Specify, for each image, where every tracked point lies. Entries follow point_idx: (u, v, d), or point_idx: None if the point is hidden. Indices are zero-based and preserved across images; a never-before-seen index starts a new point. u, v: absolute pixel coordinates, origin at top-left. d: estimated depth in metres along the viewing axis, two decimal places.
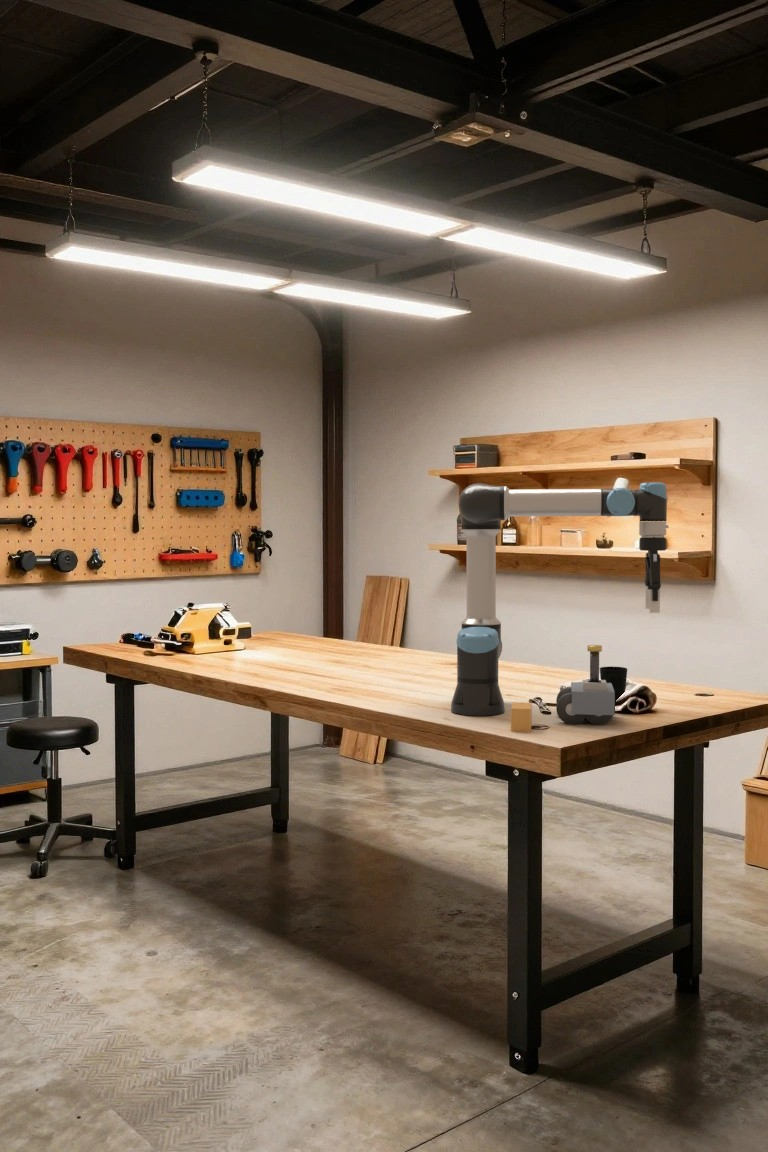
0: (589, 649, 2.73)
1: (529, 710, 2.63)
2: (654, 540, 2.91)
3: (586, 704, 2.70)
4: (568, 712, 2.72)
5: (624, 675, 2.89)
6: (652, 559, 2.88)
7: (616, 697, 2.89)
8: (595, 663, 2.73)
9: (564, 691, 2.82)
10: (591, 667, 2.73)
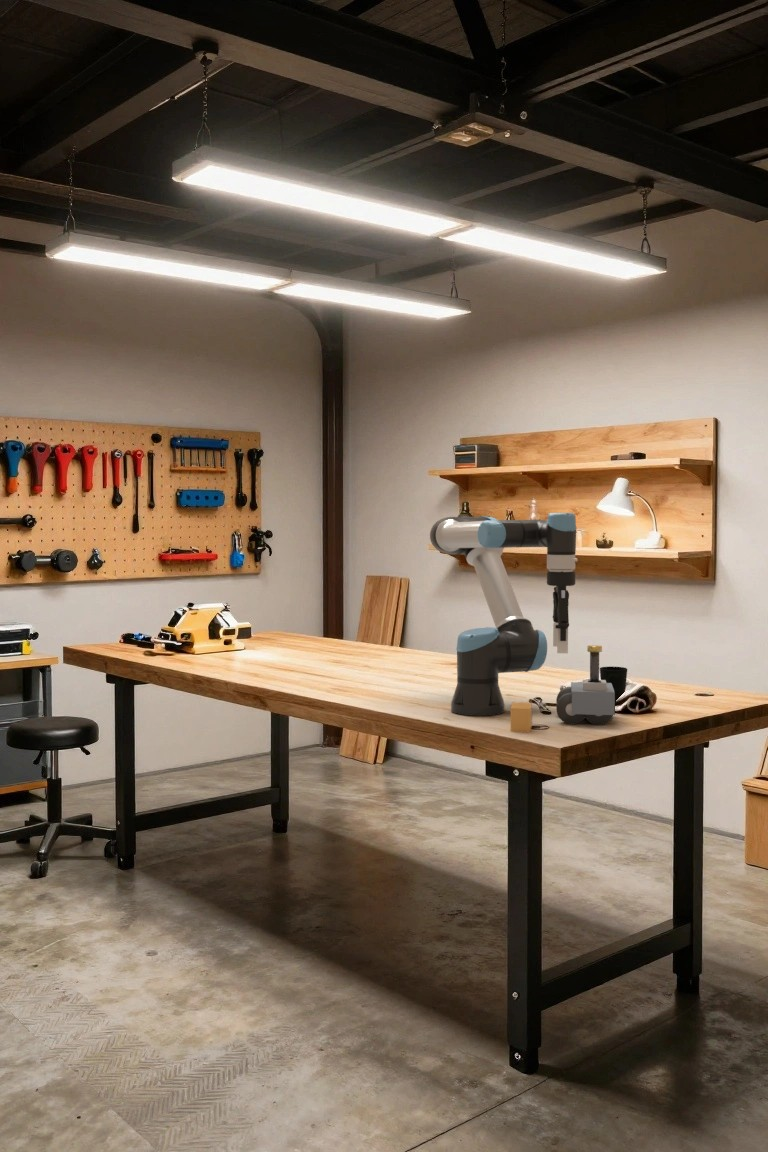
0: (589, 649, 2.73)
1: (529, 710, 2.63)
2: (563, 575, 2.70)
3: (586, 704, 2.70)
4: (568, 712, 2.72)
5: (624, 675, 2.89)
6: (560, 596, 2.68)
7: (616, 697, 2.89)
8: (595, 664, 2.73)
9: (564, 691, 2.82)
10: (591, 667, 2.73)
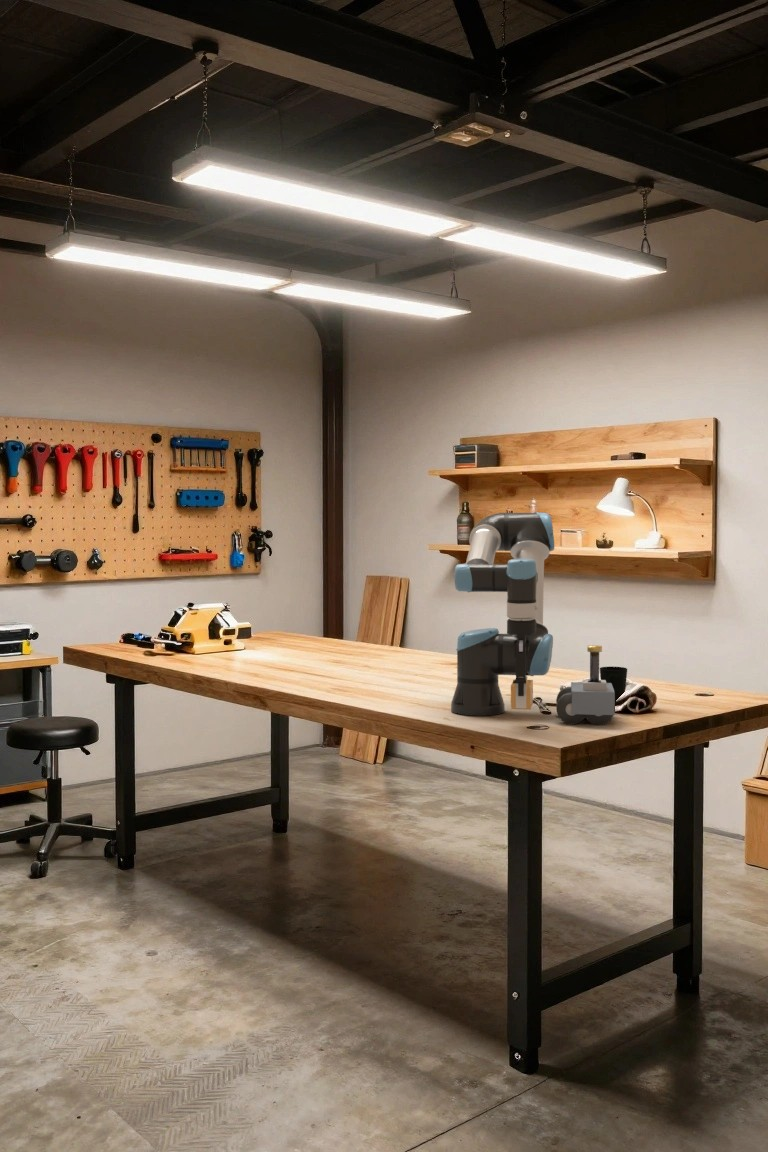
0: (589, 649, 2.73)
1: (529, 687, 2.63)
2: (521, 624, 2.63)
3: (586, 704, 2.70)
4: (568, 712, 2.72)
5: (624, 675, 2.89)
6: (518, 649, 2.61)
7: (616, 697, 2.89)
8: (595, 664, 2.73)
9: (564, 691, 2.82)
10: (591, 667, 2.73)
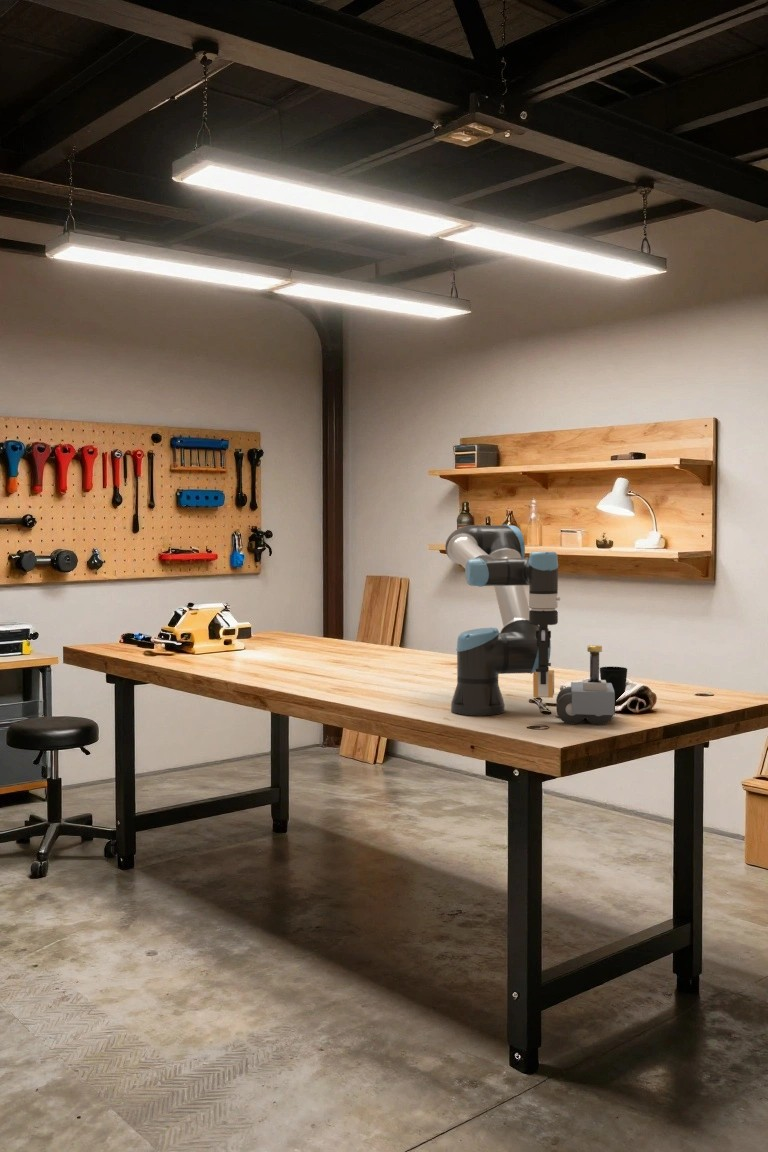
0: (589, 649, 2.73)
1: (551, 676, 2.69)
2: (544, 614, 2.70)
3: (586, 704, 2.70)
4: (568, 712, 2.72)
5: (624, 675, 2.89)
6: (540, 638, 2.67)
7: (616, 697, 2.89)
8: (595, 664, 2.73)
9: (564, 691, 2.82)
10: (591, 667, 2.73)
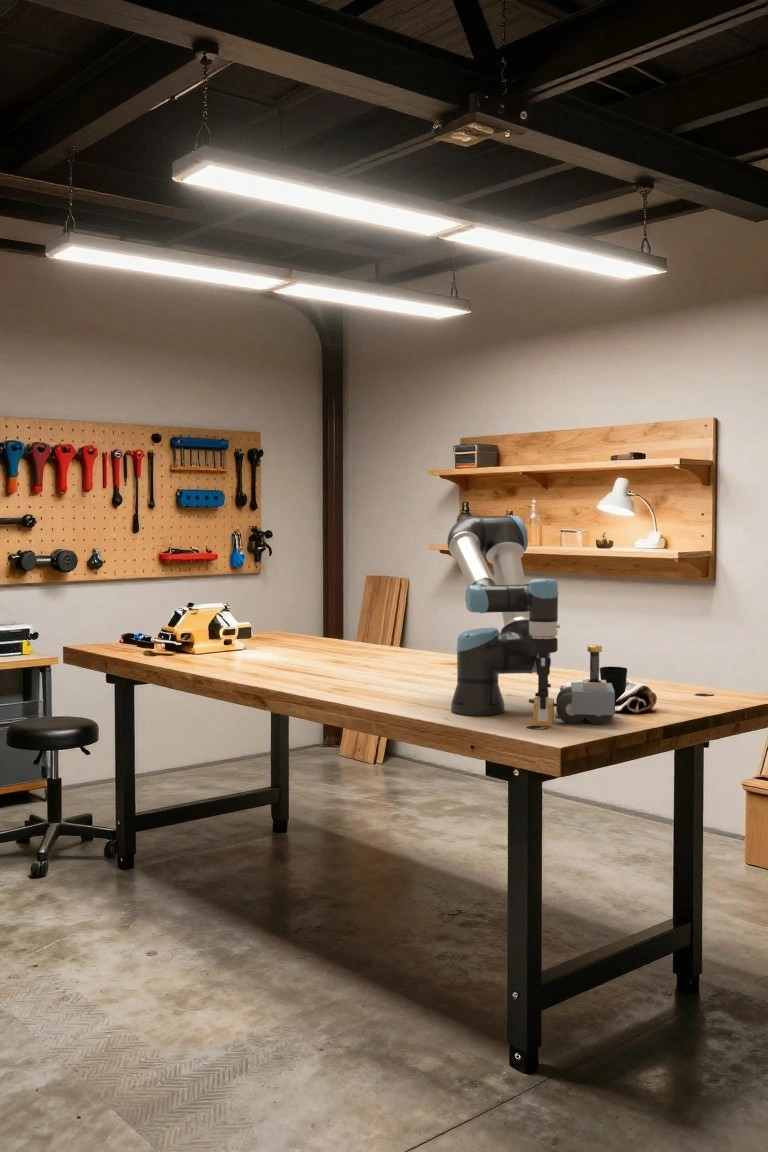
0: (589, 649, 2.73)
1: (551, 705, 2.70)
2: (543, 642, 2.70)
3: (586, 704, 2.70)
4: (568, 712, 2.72)
5: (624, 675, 2.89)
6: (540, 664, 2.67)
7: (616, 697, 2.89)
8: (595, 664, 2.73)
9: (564, 691, 2.82)
10: (591, 667, 2.73)
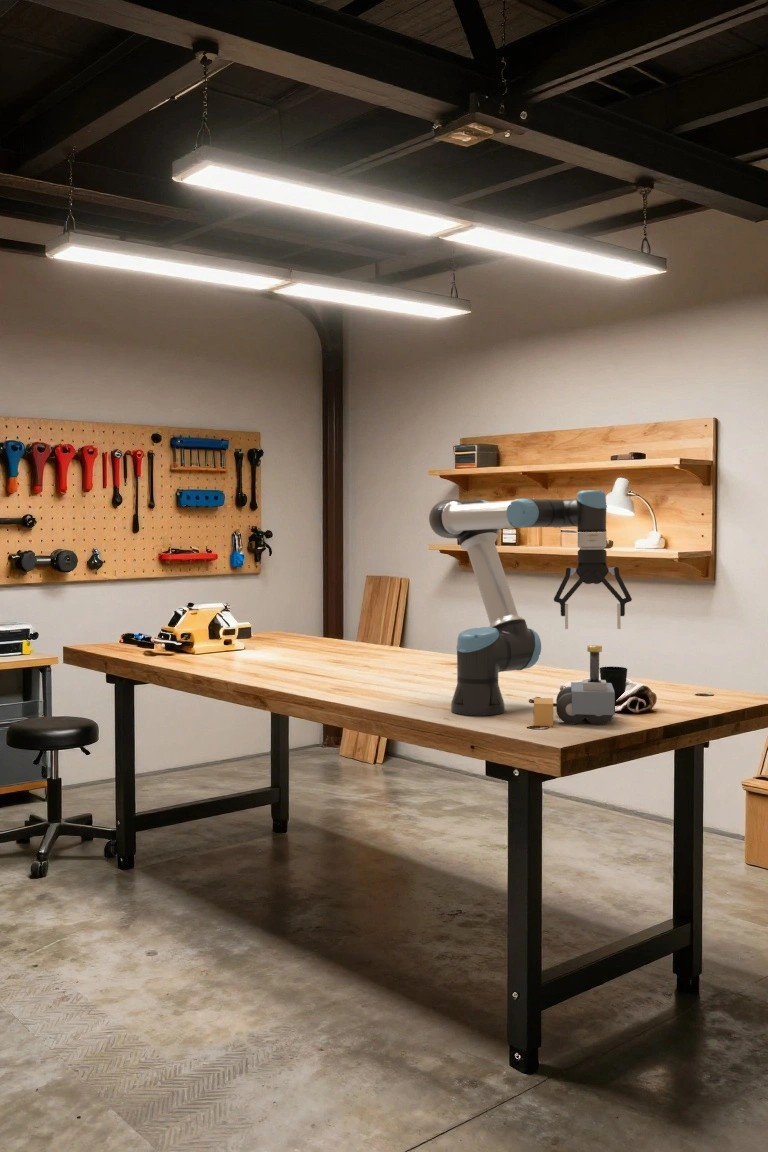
0: (589, 649, 2.73)
1: (552, 705, 2.70)
2: None
3: (586, 704, 2.70)
4: (568, 712, 2.72)
5: (624, 675, 2.89)
6: None
7: (616, 697, 2.89)
8: (595, 664, 2.73)
9: (564, 691, 2.82)
10: (591, 667, 2.73)
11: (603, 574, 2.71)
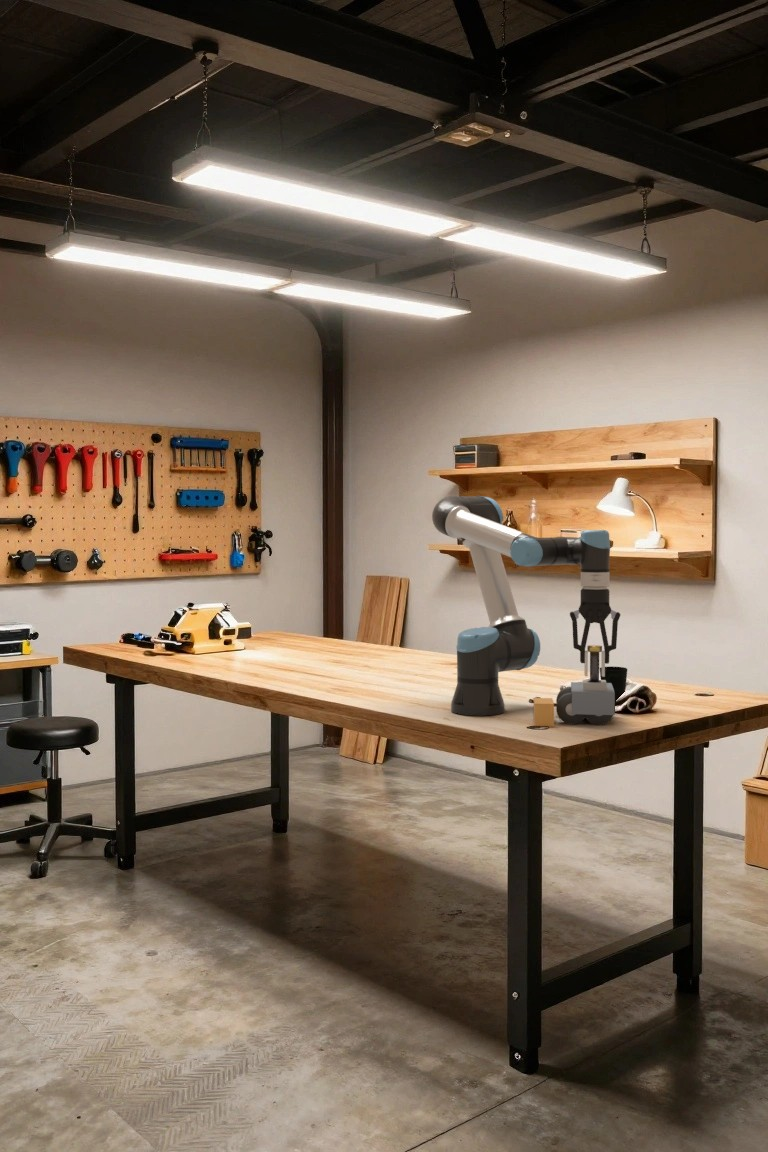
0: (589, 649, 2.73)
1: (552, 705, 2.70)
2: None
3: (586, 704, 2.70)
4: (568, 712, 2.72)
5: (624, 675, 2.89)
6: None
7: (616, 697, 2.89)
8: (595, 664, 2.73)
9: (564, 691, 2.82)
10: (591, 667, 2.73)
11: (606, 614, 2.72)
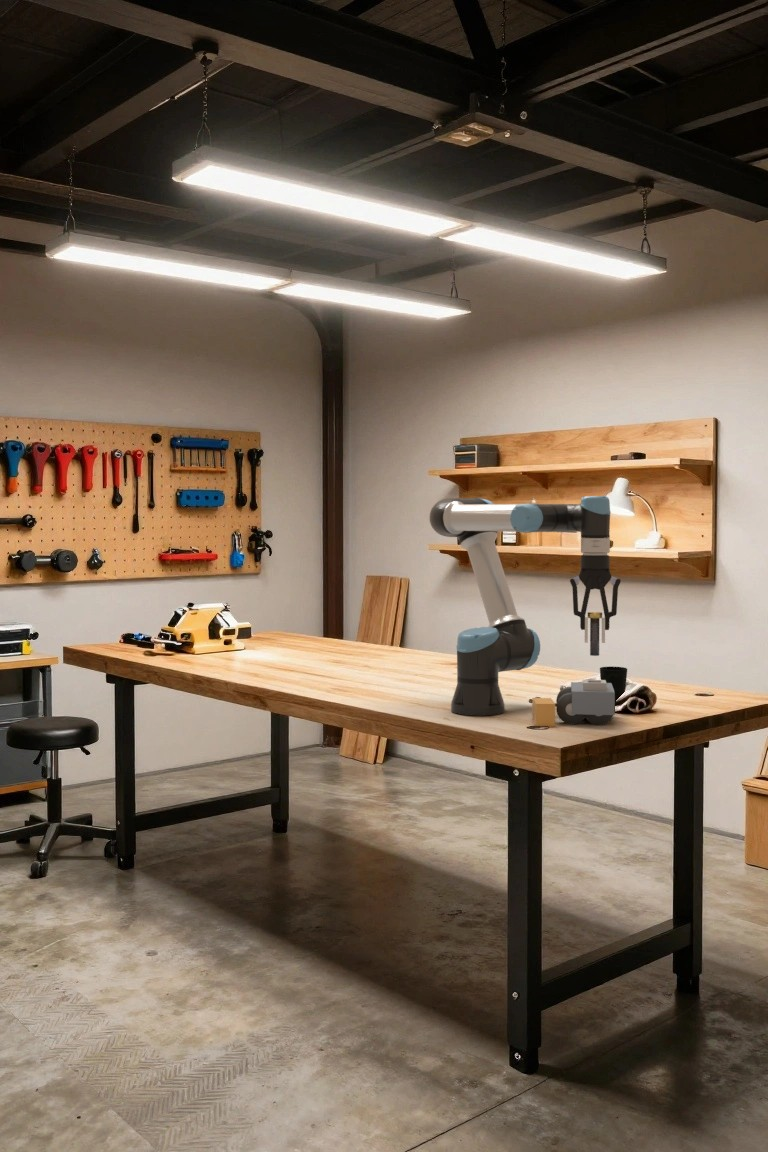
0: (589, 616, 2.72)
1: (554, 705, 2.70)
2: None
3: (586, 704, 2.70)
4: (568, 712, 2.72)
5: (624, 675, 2.89)
6: None
7: (616, 697, 2.89)
8: (595, 630, 2.72)
9: (564, 691, 2.82)
10: (591, 634, 2.73)
11: (606, 580, 2.71)
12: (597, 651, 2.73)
